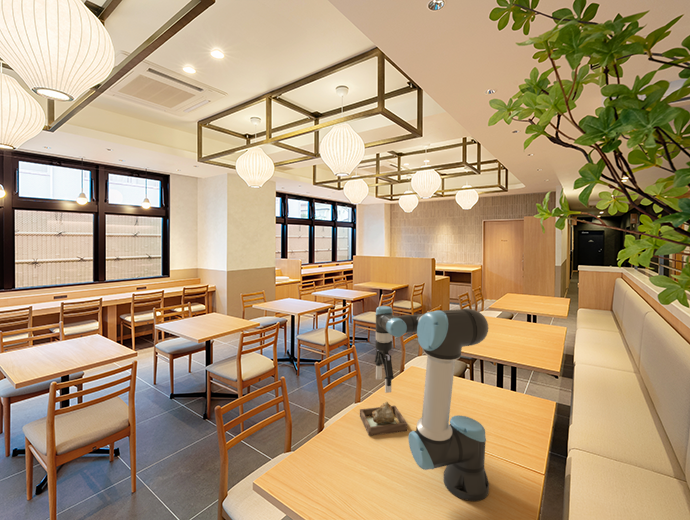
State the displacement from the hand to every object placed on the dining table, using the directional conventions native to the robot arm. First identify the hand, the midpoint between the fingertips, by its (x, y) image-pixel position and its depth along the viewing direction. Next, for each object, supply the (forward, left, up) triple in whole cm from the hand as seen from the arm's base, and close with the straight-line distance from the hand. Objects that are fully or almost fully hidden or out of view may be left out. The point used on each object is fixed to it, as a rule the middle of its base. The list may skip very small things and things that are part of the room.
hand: (383, 385), depth 154 cm
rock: (0, 0, -18) cm, 18 cm away
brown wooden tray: (0, 0, -18) cm, 18 cm away
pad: (0, 0, -18) cm, 18 cm away
